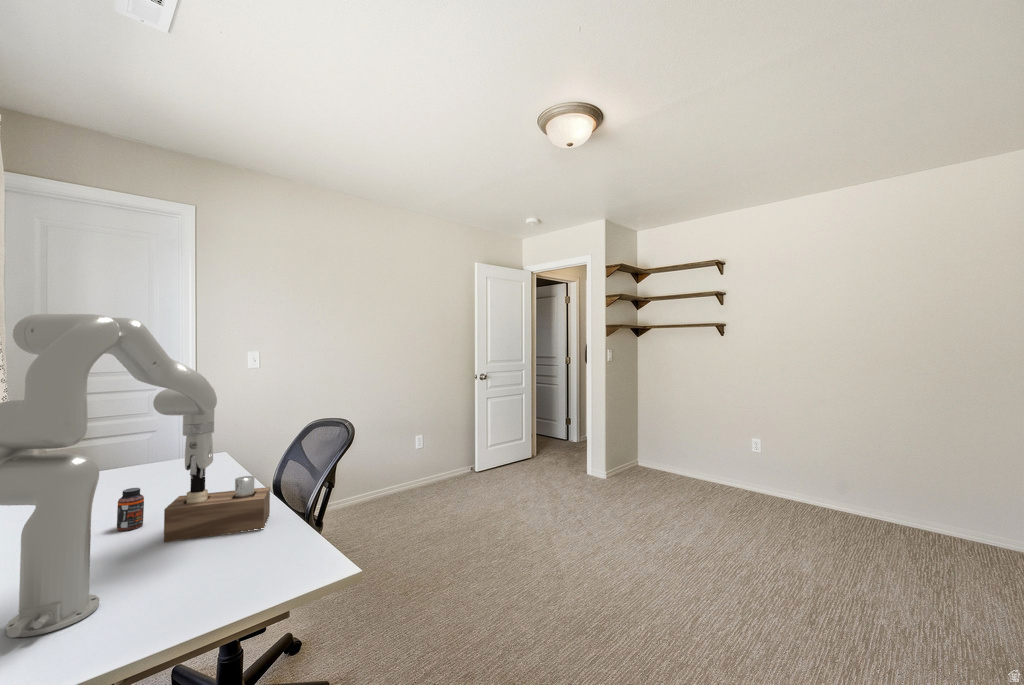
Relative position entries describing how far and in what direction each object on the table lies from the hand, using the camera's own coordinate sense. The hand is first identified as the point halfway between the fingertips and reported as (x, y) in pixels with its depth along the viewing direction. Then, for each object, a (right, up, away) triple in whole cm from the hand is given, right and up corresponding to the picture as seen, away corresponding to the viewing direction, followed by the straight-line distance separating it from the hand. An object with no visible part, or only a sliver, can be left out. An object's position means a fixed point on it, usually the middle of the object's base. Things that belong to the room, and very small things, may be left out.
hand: (197, 491), depth 128 cm
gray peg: (+11, -7, +4) cm, 14 cm away
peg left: (0, -9, -1) cm, 9 cm away
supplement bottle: (-21, -12, +2) cm, 24 cm away
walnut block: (+6, -11, +2) cm, 13 cm away
